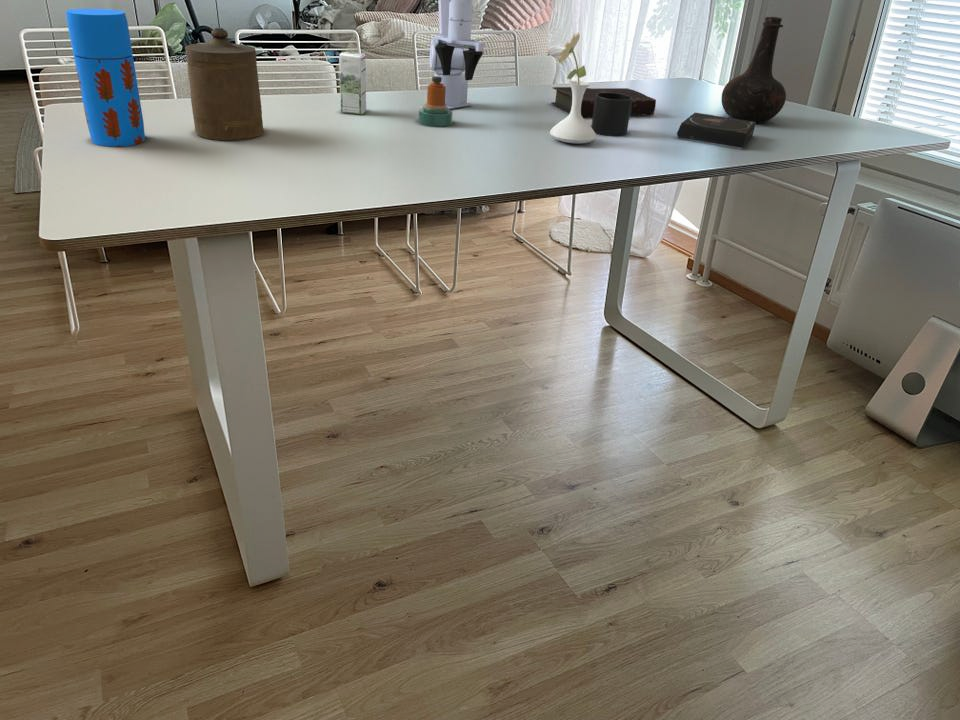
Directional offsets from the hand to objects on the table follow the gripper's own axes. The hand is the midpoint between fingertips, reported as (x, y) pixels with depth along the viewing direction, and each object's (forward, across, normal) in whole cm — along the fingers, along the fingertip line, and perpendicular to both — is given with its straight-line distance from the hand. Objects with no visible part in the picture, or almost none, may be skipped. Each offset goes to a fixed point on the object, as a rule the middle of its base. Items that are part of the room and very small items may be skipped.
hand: (457, 77), depth 191 cm
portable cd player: (+11, +55, +42) cm, 70 cm away
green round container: (+10, 0, -8) cm, 13 cm away
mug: (+11, +34, +24) cm, 43 cm away
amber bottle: (+6, 0, -8) cm, 10 cm away
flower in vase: (+11, +33, +5) cm, 35 cm away
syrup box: (+11, -21, -17) cm, 29 cm away
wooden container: (+11, -21, -55) cm, 60 cm away
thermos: (+11, -29, -77) cm, 83 cm away
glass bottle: (+11, +52, +73) cm, 90 cm away
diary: (+11, +18, +45) cm, 50 cm away
